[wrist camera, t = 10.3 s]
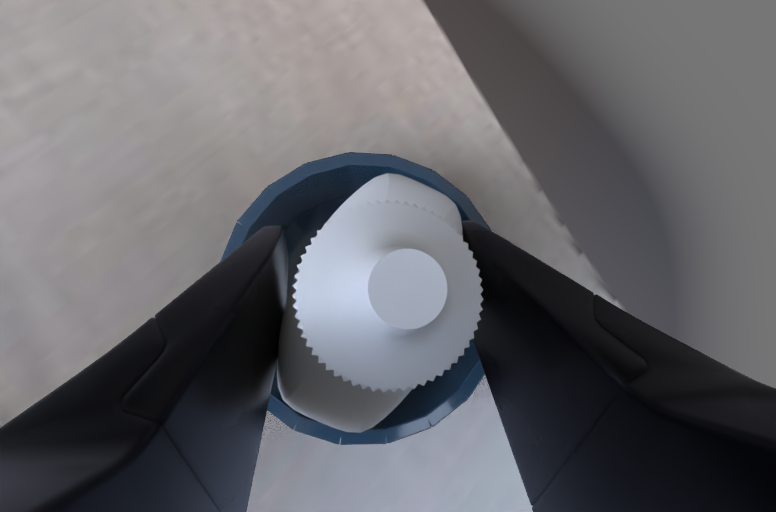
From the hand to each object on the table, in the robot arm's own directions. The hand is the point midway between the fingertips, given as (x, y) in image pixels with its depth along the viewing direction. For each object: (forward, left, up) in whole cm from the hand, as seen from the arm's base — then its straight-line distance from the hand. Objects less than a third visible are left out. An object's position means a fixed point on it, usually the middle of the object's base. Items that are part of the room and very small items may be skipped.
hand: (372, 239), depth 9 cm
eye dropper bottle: (-1, -1, -7) cm, 7 cm away
